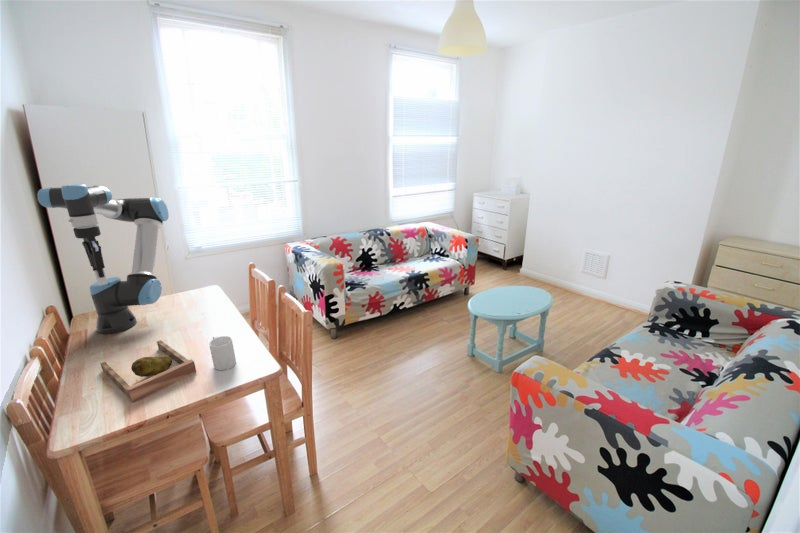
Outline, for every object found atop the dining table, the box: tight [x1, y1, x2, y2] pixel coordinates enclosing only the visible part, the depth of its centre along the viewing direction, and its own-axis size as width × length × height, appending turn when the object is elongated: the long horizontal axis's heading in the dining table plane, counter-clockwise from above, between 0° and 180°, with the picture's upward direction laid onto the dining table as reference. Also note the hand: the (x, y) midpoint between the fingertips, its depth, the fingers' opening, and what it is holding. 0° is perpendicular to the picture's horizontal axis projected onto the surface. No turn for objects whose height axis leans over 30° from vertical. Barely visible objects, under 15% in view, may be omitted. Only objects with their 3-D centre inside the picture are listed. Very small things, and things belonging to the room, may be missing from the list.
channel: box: [100, 339, 197, 403], centre depth 140 cm, size 30×21×5 cm
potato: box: [130, 355, 173, 378], centre depth 138 cm, size 8×13×8 cm, turn 132°
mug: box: [208, 335, 237, 371], centre depth 144 cm, size 12×8×10 cm, turn 43°
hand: (103, 284), depth 147 cm, fingers closed
